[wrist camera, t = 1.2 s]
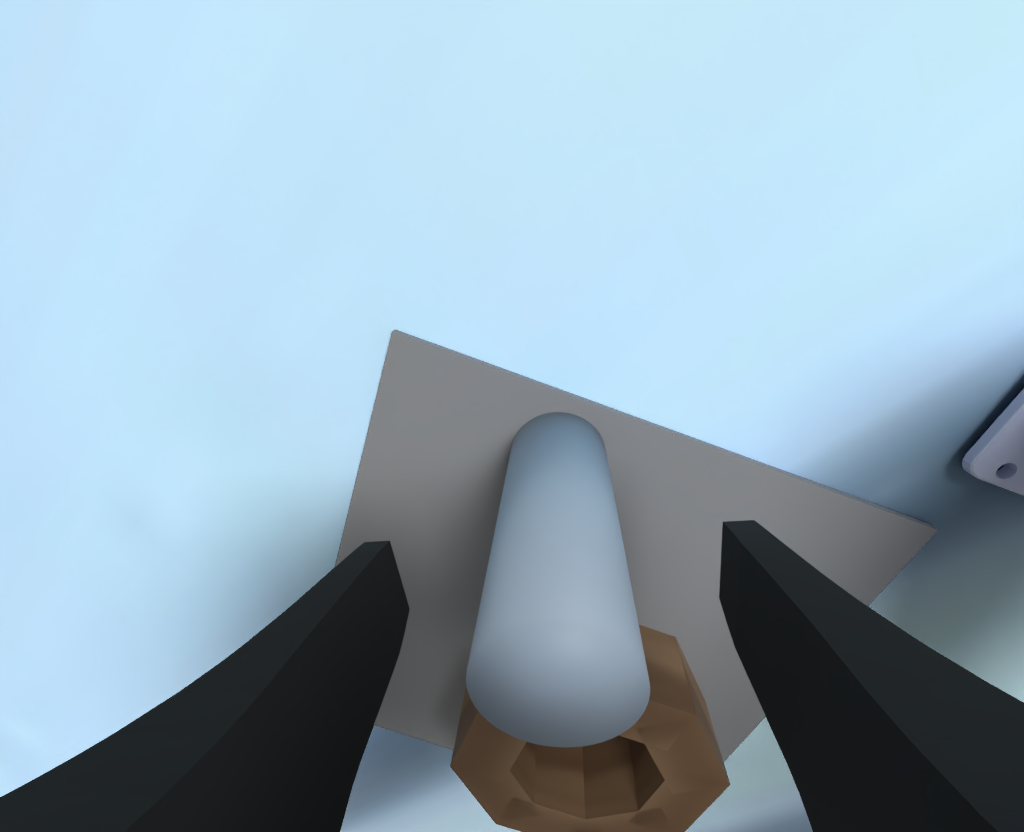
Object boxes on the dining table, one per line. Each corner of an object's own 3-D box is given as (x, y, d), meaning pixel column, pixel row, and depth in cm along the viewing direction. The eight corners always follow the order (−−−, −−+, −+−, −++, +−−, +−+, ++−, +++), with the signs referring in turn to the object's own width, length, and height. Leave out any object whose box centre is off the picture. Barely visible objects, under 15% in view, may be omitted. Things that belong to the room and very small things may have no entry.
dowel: (621, 431, 14) (684, 658, 7) (583, 507, 16) (603, 765, 8) (530, 398, 14) (499, 596, 7) (498, 477, 16) (444, 715, 8)
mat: (931, 524, 15) (938, 530, 15) (669, 810, 23) (671, 818, 22) (395, 329, 14) (392, 331, 14) (305, 695, 22) (301, 702, 21)
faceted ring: (740, 658, 18) (772, 740, 15) (635, 785, 21) (647, 870, 19) (515, 582, 17) (507, 653, 15) (448, 726, 21) (431, 803, 18)
